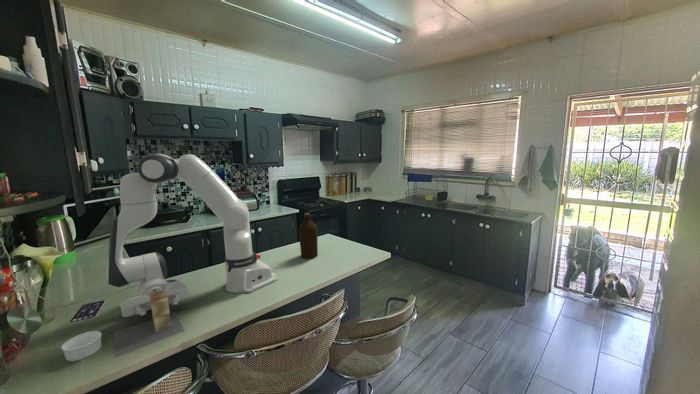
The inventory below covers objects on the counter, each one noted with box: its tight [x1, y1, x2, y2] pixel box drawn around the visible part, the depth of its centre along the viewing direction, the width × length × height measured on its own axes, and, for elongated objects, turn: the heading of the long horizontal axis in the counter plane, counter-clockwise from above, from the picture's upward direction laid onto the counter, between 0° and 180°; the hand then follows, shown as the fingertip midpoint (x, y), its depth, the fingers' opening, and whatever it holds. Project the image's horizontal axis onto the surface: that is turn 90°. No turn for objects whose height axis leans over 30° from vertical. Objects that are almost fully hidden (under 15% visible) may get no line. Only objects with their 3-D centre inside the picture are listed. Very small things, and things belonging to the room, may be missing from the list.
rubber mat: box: [113, 311, 185, 358], centre depth 94 cm, size 18×16×1 cm
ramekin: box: [61, 330, 102, 362], centre depth 85 cm, size 9×9×4 cm
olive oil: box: [298, 212, 319, 260], centre depth 158 cm, size 11×11×25 cm
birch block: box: [149, 290, 172, 332], centre depth 96 cm, size 4×4×12 cm
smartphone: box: [68, 299, 106, 324], centre depth 109 cm, size 8×1×15 cm
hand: (159, 307), depth 96 cm, fingers open, 8 cm apart
